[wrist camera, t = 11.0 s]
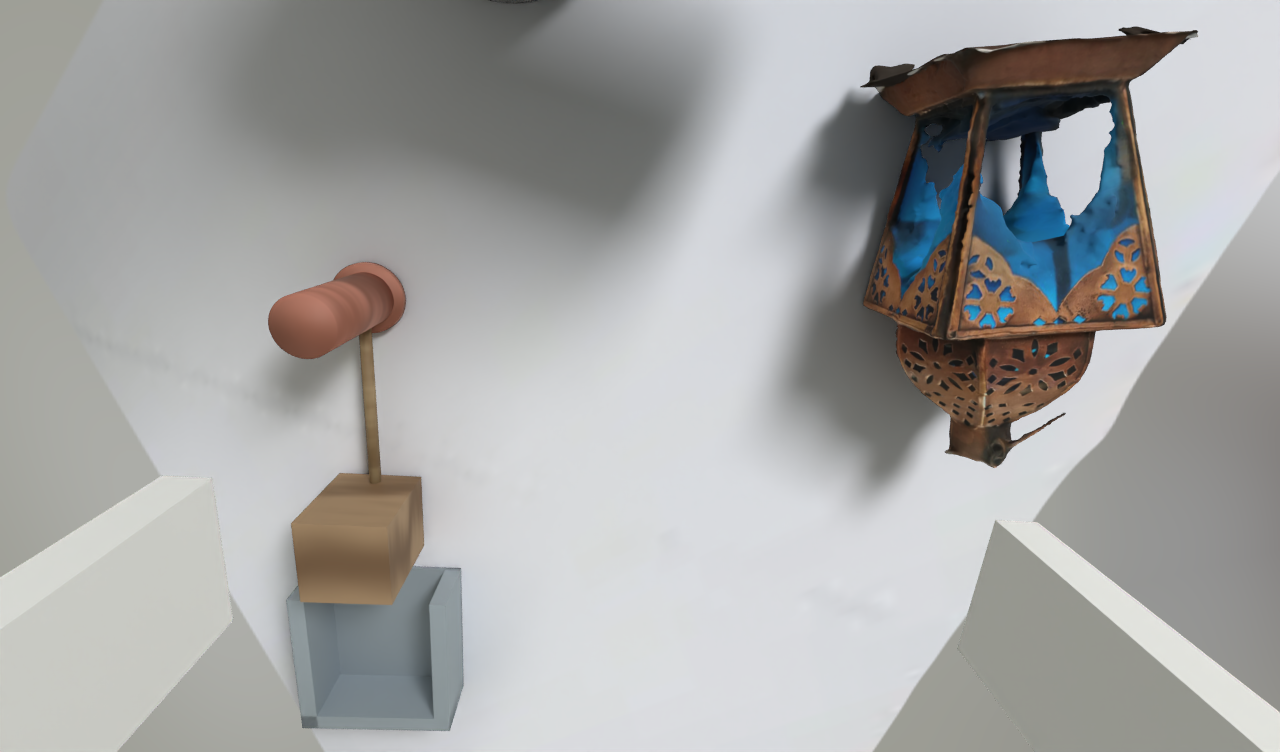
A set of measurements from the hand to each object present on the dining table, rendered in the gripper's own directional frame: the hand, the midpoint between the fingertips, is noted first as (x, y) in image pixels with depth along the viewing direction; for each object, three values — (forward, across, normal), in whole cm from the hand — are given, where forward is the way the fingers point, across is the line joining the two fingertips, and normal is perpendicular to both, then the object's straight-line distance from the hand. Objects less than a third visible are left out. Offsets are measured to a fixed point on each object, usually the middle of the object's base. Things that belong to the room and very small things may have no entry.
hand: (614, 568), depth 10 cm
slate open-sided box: (+33, -16, -30) cm, 47 cm away
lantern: (+33, +23, +4) cm, 40 cm away
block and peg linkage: (+32, -17, -11) cm, 38 cm away
